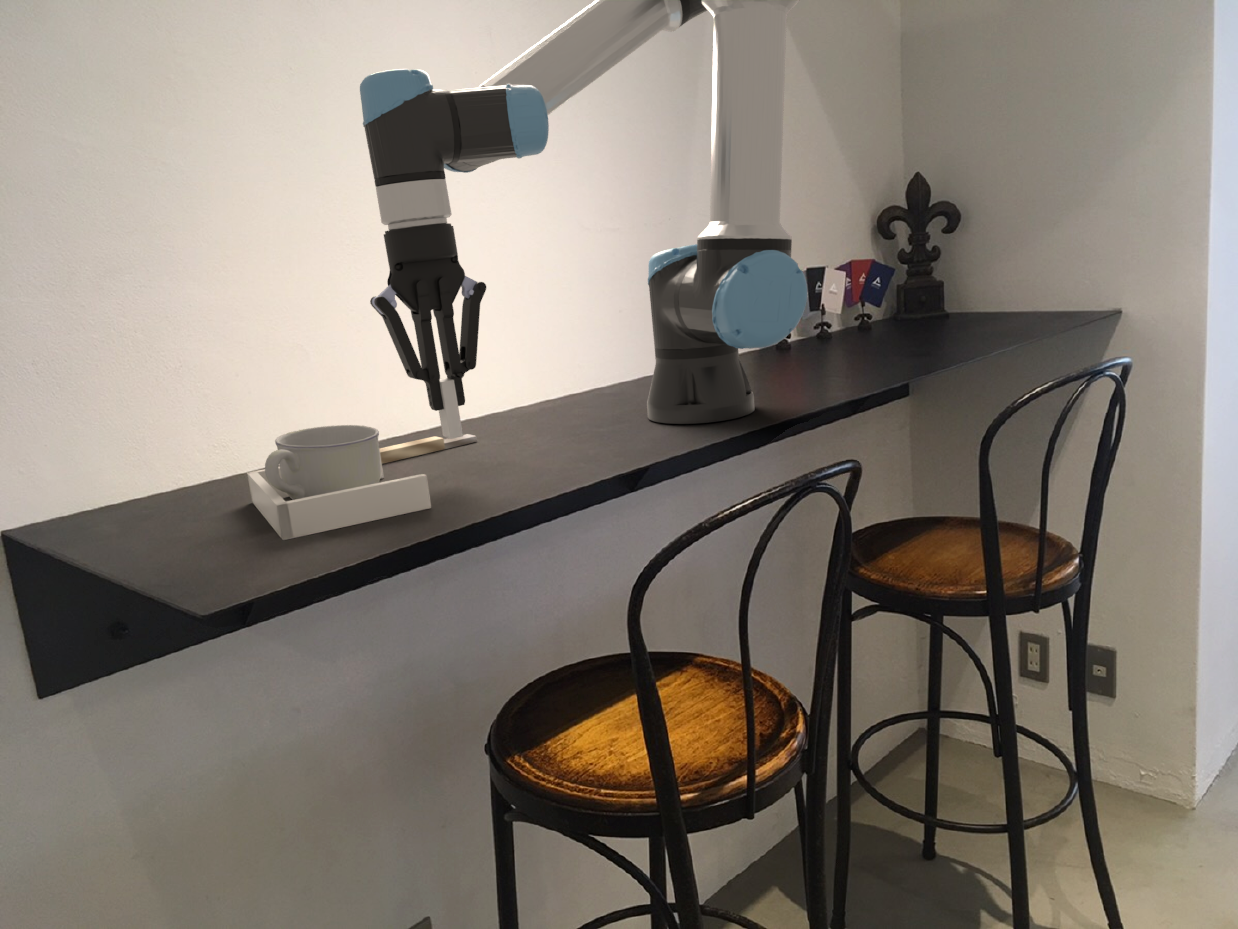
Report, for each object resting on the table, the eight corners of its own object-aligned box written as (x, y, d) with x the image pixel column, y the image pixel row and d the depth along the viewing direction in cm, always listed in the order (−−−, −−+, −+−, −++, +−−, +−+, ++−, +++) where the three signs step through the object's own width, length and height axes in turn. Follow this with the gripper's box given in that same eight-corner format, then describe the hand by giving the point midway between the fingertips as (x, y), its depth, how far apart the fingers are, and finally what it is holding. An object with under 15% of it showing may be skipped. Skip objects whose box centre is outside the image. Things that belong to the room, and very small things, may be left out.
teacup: (349, 486, 114) (338, 419, 112) (408, 495, 107) (398, 424, 105) (240, 519, 103) (227, 446, 102) (299, 531, 97) (285, 453, 95)
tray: (381, 476, 117) (377, 448, 116) (431, 507, 101) (426, 475, 100) (252, 502, 110) (246, 472, 110) (283, 540, 94) (276, 505, 93)
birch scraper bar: (467, 439, 135) (466, 429, 134) (477, 441, 133) (475, 430, 132) (308, 476, 121) (306, 464, 121) (315, 479, 119) (313, 467, 119)
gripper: (462, 220, 111) (493, 420, 117) (349, 233, 105) (388, 443, 111) (486, 215, 105) (518, 428, 110) (367, 229, 99) (407, 453, 105)
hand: (452, 435), depth 111 cm, fingers closed
